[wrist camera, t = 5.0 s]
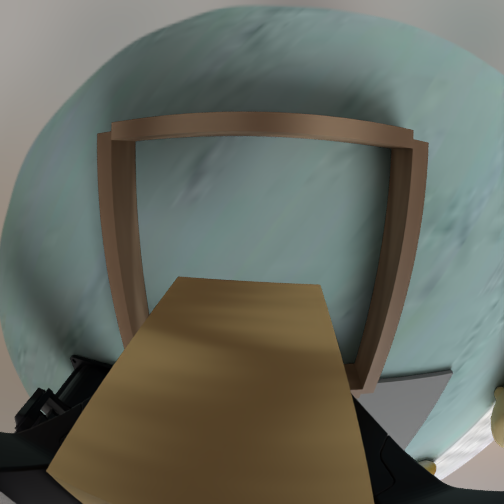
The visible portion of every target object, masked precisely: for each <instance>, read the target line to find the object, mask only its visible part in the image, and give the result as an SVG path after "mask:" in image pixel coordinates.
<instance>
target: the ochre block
mask: <svg viewBox="0 0 504 504" xmlns="http://www.w3.org/2000/svg"><path fill="white" fill-rule="evenodd" d="M46 471H47V472H48V473H49V474H50V475H51V476H52V477H53V478H54V479H55V480H56V481H57V482H58V483H59V484H60V485H62V486H63V487H64V488H65V489H66V490H67V491H68V492H69V493H71V494H72V495H73V496H74V497H75V498H77V499H78V500H79V501H80V502H82V503H83V504H374V499H373V493H372V487H371V482H370V477H369V471H368V466H367V461H366V456H365V451H364V447H363V442H362V437H361V433H360V428H359V424H358V420H357V415H356V411H355V407H354V403H353V399H352V395H351V391H350V387H349V383H348V379H347V375H346V372H345V368H344V364H343V360H342V357H341V353H340V350H339V346H338V343H337V339H336V336H335V332H334V329H333V325H332V322H331V318H330V315H329V312H328V308H327V305H326V302H325V299H324V295H323V292H322V289H321V286H320V285H314V284H291V283H270V282H252V281H235V280H219V279H204V278H190V277H178V278H177V279H176V280H175V282H174V283H173V284H172V285H171V287H170V288H169V289H168V291H167V292H166V293H165V295H164V296H163V297H162V299H161V300H160V301H159V303H158V304H157V305H156V307H155V308H154V310H153V311H152V312H151V314H150V315H149V316H148V318H147V319H146V320H145V322H144V323H143V325H142V326H141V327H140V329H139V330H138V331H137V333H136V334H135V336H134V337H133V338H132V340H131V341H130V343H129V344H128V345H127V347H126V348H125V350H124V351H123V353H122V354H121V355H120V357H119V358H118V360H117V361H116V363H115V364H114V365H113V367H112V368H111V370H110V371H109V373H108V374H107V376H106V377H105V379H104V380H103V382H102V383H101V384H100V386H99V387H98V389H97V390H96V392H95V393H94V395H93V396H92V398H91V399H90V401H89V403H88V404H87V406H86V407H85V409H84V410H83V412H82V413H81V415H80V416H79V418H78V419H77V421H76V423H75V424H74V426H73V427H72V429H71V431H70V432H69V434H68V435H67V437H66V439H65V440H64V442H63V443H62V445H61V447H60V448H59V450H58V452H57V453H56V455H55V457H54V458H53V460H52V462H51V463H50V465H49V467H48V469H47V470H46Z"/></svg>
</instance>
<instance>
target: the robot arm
mask: <svg viewBox="0 0 504 504" xmlns="http://www.w3.org/2000/svg"><path fill="white" fill-rule="evenodd" d="M70 360H71V362H72V365H73V367H74V371H73V373H72V374H71V375H70V376H69V378H68V379H67V380H66V381H65V383H64V384H63V385H62V387H61V388H60V389H59V390H58V392H57V393H56V394H54V393H53V391H52V390H51V389H50V388H48V390H47V391H45V390H43V389H41V388H38V389H37V390H36V391H35V393H34V394H33V395H32V396H31V398H30V399H29V400H28V401H27V403H26V404H25V405H24V406H23V407H22V408H21V410H20V411H19V412H18V413H17V414H16V416H15V422H16V427H15V429H16V431H15V432H14V433H4V432H0V504H83V503H82V502H80V501H79V500H78V499H77V498H75V497H74V496H73V495H72V494H71V493H69V492H68V491H67V490H66V489H65V488H64V487H63V486H62V485H60V484H59V483H58V482H57V481H56V480H55V479H54V478H53V477H52V476H51V475H50V474H49V473H48V472H47V471H46V470H47V469H48V467H49V465H50V463H51V462H52V460H53V458H54V457H55V455H56V453H57V452H58V450H59V448H60V447H61V445H62V443H63V442H64V440H65V439H66V437H67V435H68V434H69V432H70V431H71V429H72V427H73V426H74V424H75V423H76V421H77V419H78V418H79V416H80V415H81V413H82V412H83V410H84V409H85V407H86V406H87V404H88V403H89V401H90V399H91V398H92V396H93V395H94V393H95V392H96V390H97V389H98V387H99V386H100V384H101V383H102V382H103V380H104V379H105V377H106V376H107V374H108V373H109V371H110V370H111V368H112V367H113V366H112V365H108V364H105V363H101V362H97V361H93V360H90V359H86V358H83V357H79V356H76V355H72V356H71V358H70ZM351 395H352V393H351ZM352 399H353V403H354V407H355V411H356V415H357V420H358V424H359V428H360V433H361V437H362V442H363V447H364V451H365V456H366V461H367V466H368V471H369V477H370V482H371V487H372V493H373V499H374V504H504V491H483V490H472V489H463V488H456V487H452V486H450V485H447V484H445V483H443V482H442V481H440V480H439V479H438V478H436V477H435V476H434V475H433V474H431V473H430V472H429V471H428V470H426V469H425V468H424V467H423V466H421V465H420V464H419V463H418V462H417V461H415V460H414V459H413V458H412V457H411V456H410V455H409V454H407V453H406V452H405V451H404V450H403V449H402V448H401V447H400V446H399V445H398V444H397V443H396V442H395V441H394V440H393V439H392V437H391V436H390V435H388V433H387V432H386V431H385V430H384V429H383V428H382V427H381V426H380V424H379V423H378V422H377V421H376V420H375V419H374V418H373V417H372V416H371V415H370V413H369V412H368V411H367V410H366V409H365V408H364V407H363V406H362V405H361V403H360V402H359V401H358V400H357V399H356V398H355V397H354V396H353V395H352ZM40 409H41V410H42V411H43V412H44V413H46V415H44V414H43V413H42V412H41V411H40Z"/></svg>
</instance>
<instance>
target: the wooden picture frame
mask: <svg viewBox="0 0 504 504" xmlns="http://www.w3.org/2000/svg"><path fill="white" fill-rule="evenodd" d="M200 136H269V137H291V138H306V139H318V140H329V141H339V142H347V143H355V144H363V145H370V146H377V147H383V148H389V149H391V166H390V180H389V191H388V201H387V210H386V219H385V226H384V233H383V240H382V246H381V253H380V258H379V264H378V270H377V275H376V280H375V285H374V290H373V294H372V299H371V303H370V308H369V312H368V316H367V320H366V324H365V328H364V332H363V336H362V339H361V343H360V347H359V350H358V354H357V357H356V360H355V363H354V364H344V368H345V372H346V375H347V379H348V383H349V387H350V391H351V393H352V395H353V396H354V397H355V398H356V399H357V398H359V397H360V395H361V394H367V393H373V392H374V390H375V387H376V385H377V383H378V380H379V378H380V375H381V373H382V370H383V367H384V365H385V362H386V359H387V356H388V354H389V351H390V348H391V345H392V342H393V339H394V336H395V333H396V330H397V326H398V323H399V320H400V316H401V313H402V309H403V306H404V302H405V298H406V295H407V291H408V287H409V283H410V278H411V274H412V270H413V265H414V260H415V255H416V250H417V245H418V239H419V234H420V227H421V221H422V214H423V206H424V198H425V189H426V178H427V165H428V144H429V143H427V142H423V141H419V140H414V139H413V130H411V129H406V128H401V127H396V126H391V125H386V124H380V123H375V122H369V121H362V120H355V119H348V118H340V117H332V116H322V115H311V114H298V113H281V112H205V113H188V114H175V115H164V116H155V117H147V118H139V119H132V120H125V121H118V122H112V128H111V131H110V132H104V133H98V134H97V168H98V191H99V205H100V217H101V227H102V236H103V244H104V251H105V258H106V265H107V271H108V277H109V283H110V288H111V293H112V298H113V303H114V308H115V313H116V317H117V321H118V326H119V330H120V334H121V338H122V342H123V345H124V349H125V348H126V347H127V345H128V344H129V343H130V341H131V340H132V338H133V337H134V336H135V334H136V333H137V331H138V330H139V329H140V327H141V326H142V325H143V323H144V322H145V320H146V319H147V318H148V316H149V310H148V304H147V298H146V291H145V284H144V276H143V268H142V259H141V250H140V240H139V228H138V214H137V197H136V164H135V141H141V140H152V139H164V138H179V137H200Z"/></svg>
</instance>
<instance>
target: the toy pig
mask: <svg viewBox="0 0 504 504" xmlns="http://www.w3.org/2000/svg"><path fill="white" fill-rule="evenodd" d="M494 396H495V398H496V403H495V405H494V408H493V412H492V416H491V431H492V435H493V438H494V440H495V441H496V443H497V444H498V445H499V446H501V447H503V448H504V387H498V388H497V389H496V390H495V392H494Z"/></svg>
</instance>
